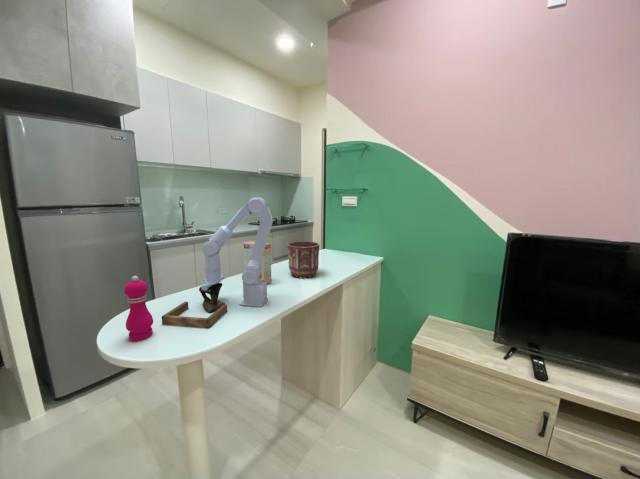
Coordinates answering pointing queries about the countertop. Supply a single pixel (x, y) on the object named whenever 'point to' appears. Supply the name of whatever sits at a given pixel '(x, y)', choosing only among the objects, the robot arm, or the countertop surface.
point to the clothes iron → (210, 300)
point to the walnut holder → (177, 320)
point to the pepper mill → (138, 310)
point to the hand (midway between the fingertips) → (214, 300)
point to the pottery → (303, 258)
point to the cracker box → (265, 262)
